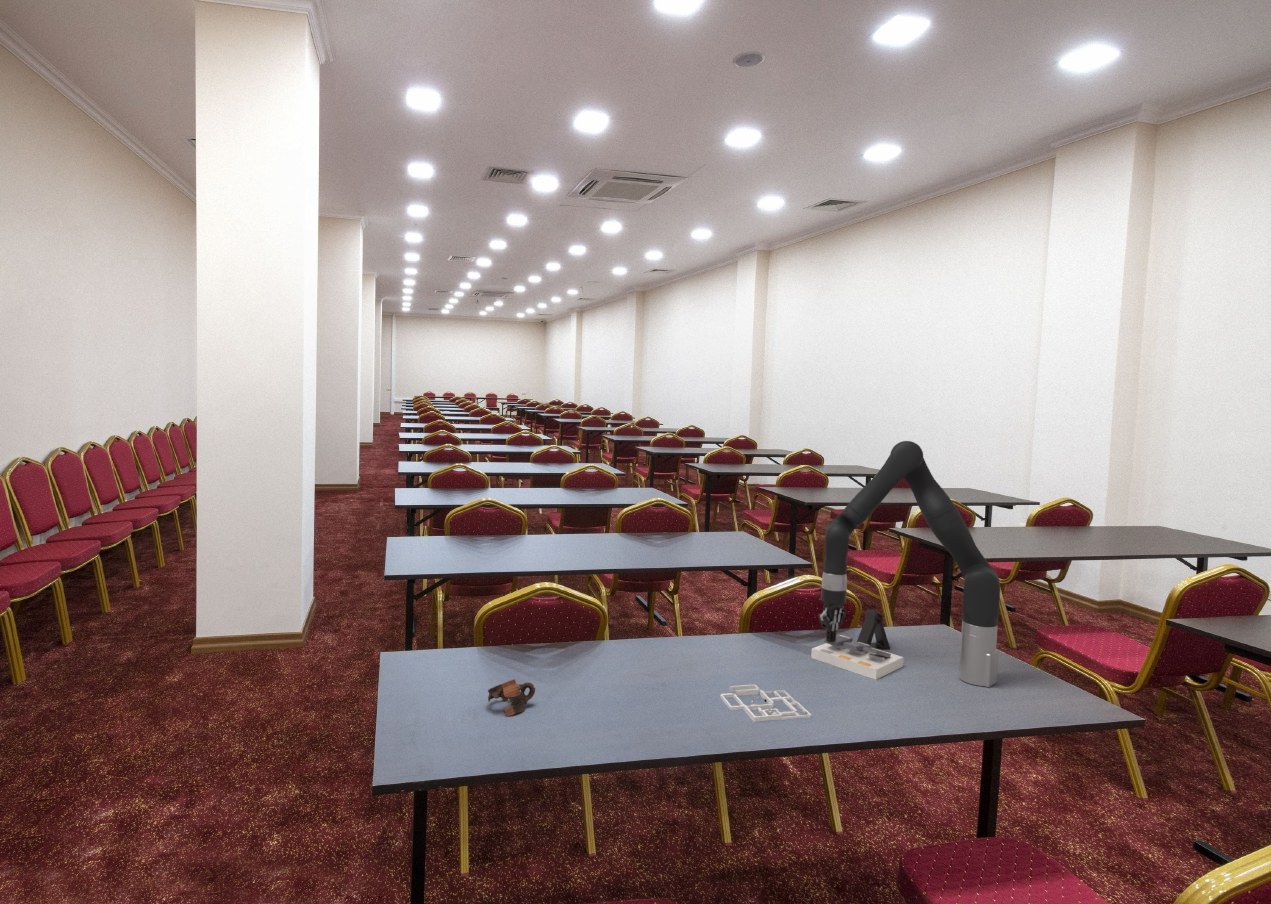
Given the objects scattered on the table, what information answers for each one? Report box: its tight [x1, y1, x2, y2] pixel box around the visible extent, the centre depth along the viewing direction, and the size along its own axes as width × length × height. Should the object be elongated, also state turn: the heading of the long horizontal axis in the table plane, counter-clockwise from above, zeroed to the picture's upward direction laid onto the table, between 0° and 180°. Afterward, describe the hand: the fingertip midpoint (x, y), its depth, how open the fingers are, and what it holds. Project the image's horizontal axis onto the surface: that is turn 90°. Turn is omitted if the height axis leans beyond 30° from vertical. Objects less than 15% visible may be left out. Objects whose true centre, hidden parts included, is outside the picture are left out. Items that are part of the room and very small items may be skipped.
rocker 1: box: [824, 634, 853, 646], centre depth 219 cm, size 4×9×1 cm, turn 132°
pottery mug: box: [487, 678, 536, 717], centre depth 178 cm, size 12×10×8 cm
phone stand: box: [856, 608, 891, 651], centre depth 228 cm, size 9×6×12 cm, turn 97°
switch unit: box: [810, 642, 904, 680], centre depth 214 cm, size 22×16×4 cm
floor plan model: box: [719, 684, 813, 723], centre depth 182 cm, size 19×25×2 cm
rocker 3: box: [863, 646, 892, 658], centre depth 209 cm, size 4×9×1 cm, turn 132°
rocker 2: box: [843, 641, 871, 650], centre depth 214 cm, size 4×9×1 cm, turn 132°
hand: (830, 641), depth 216 cm, fingers closed
